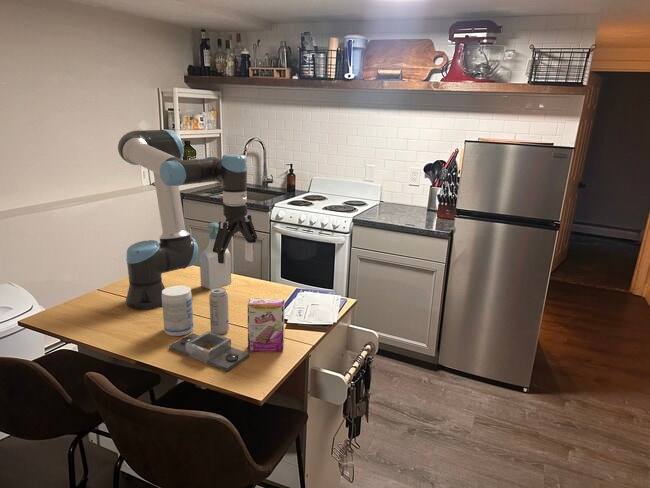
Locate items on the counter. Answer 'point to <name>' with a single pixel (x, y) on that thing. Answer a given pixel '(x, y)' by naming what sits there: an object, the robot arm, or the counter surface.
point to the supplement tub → (177, 310)
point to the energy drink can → (219, 311)
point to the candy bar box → (266, 325)
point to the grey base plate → (210, 350)
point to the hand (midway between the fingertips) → (236, 266)
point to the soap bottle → (213, 264)
